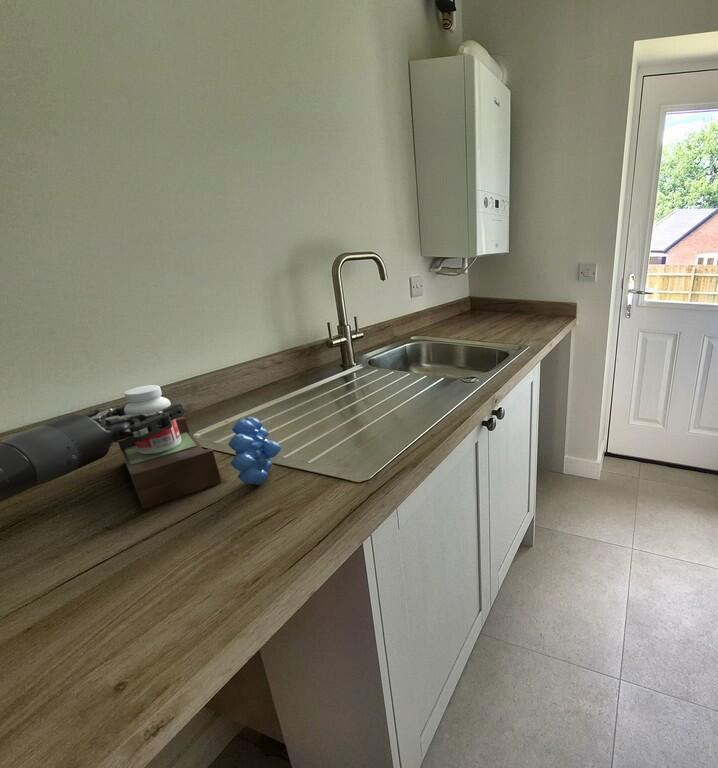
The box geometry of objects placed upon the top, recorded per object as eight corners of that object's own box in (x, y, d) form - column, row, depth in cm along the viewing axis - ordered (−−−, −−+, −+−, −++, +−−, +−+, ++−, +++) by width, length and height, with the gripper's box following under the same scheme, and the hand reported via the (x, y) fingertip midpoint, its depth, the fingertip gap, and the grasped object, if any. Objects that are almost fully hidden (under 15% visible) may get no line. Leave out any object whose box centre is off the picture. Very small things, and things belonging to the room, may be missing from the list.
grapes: (279, 498, 64) (264, 428, 60) (230, 505, 62) (211, 434, 58) (295, 462, 74) (283, 401, 70) (253, 468, 73) (239, 405, 69)
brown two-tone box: (143, 509, 61) (131, 474, 59) (125, 462, 75) (114, 432, 73) (221, 482, 68) (213, 450, 66) (192, 444, 82) (184, 416, 80)
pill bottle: (158, 439, 76) (140, 383, 73) (190, 439, 76) (174, 383, 73) (128, 455, 71) (107, 395, 67) (163, 455, 70) (144, 395, 67)
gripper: (87, 428, 56) (190, 389, 71) (0, 423, 58) (119, 386, 73) (105, 476, 58) (201, 428, 74) (20, 470, 60) (132, 424, 75)
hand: (160, 407), depth 73 cm, fingers open, 8 cm apart
